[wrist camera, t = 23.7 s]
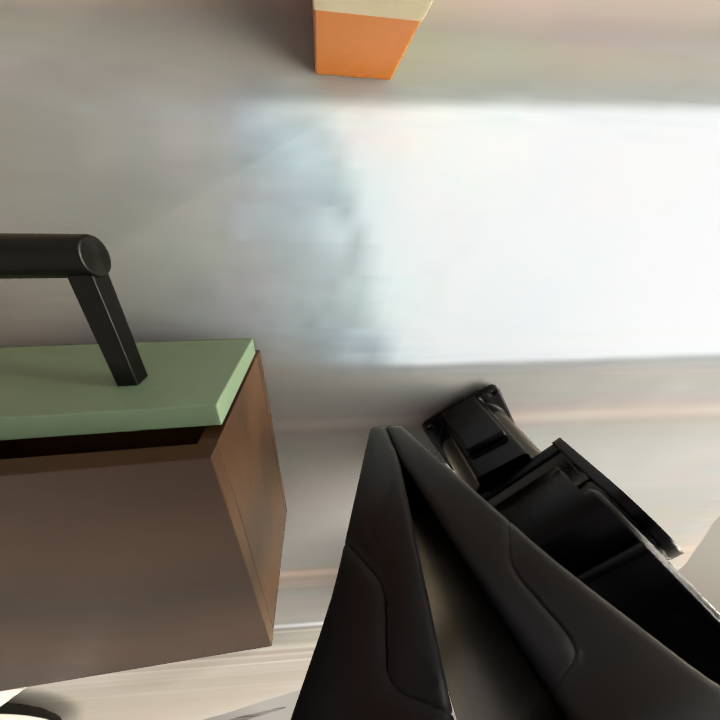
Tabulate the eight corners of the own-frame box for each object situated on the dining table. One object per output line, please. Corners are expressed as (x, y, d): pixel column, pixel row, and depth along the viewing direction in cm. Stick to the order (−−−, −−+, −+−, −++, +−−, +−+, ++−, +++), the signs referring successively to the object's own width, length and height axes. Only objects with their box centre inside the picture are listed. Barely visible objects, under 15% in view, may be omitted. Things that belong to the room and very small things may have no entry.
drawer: (-167, 225, 12) (-645, 234, 6) (234, 229, 13) (171, 239, 8) (73, 536, 22) (-16, 652, 16) (283, 513, 23) (272, 608, 18)
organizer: (-32, 361, 16) (-389, 509, 8) (259, 349, 18) (211, 457, 10) (90, 531, 23) (-30, 696, 15) (286, 510, 25) (271, 646, 17)
